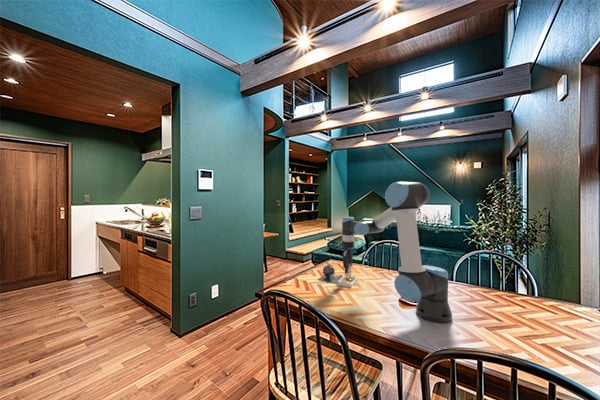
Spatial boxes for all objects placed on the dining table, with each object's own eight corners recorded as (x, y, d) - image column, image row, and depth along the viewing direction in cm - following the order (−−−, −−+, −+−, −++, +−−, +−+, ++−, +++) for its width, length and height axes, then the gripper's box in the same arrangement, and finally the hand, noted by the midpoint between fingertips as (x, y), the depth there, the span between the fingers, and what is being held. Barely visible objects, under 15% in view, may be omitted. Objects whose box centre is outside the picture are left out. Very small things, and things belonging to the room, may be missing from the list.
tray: (351, 288, 147) (351, 283, 147) (337, 285, 152) (337, 281, 152) (358, 281, 158) (358, 277, 158) (345, 279, 163) (345, 275, 163)
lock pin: (349, 281, 153) (349, 264, 152) (344, 280, 155) (344, 263, 154) (351, 280, 156) (351, 263, 155) (346, 279, 158) (346, 262, 157)
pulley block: (338, 285, 152) (337, 271, 152) (317, 281, 160) (316, 268, 160) (345, 279, 163) (345, 266, 163) (325, 275, 171) (325, 263, 171)
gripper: (349, 243, 145) (349, 282, 146) (357, 239, 159) (357, 274, 160) (337, 242, 149) (337, 279, 150) (347, 238, 163) (346, 272, 164)
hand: (348, 276), depth 155 cm, fingers closed on lock pin, 3 cm apart
